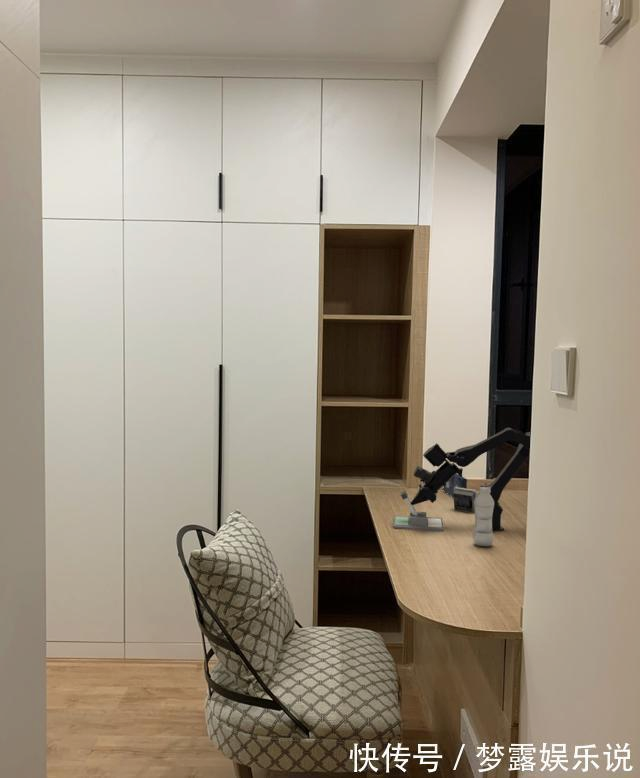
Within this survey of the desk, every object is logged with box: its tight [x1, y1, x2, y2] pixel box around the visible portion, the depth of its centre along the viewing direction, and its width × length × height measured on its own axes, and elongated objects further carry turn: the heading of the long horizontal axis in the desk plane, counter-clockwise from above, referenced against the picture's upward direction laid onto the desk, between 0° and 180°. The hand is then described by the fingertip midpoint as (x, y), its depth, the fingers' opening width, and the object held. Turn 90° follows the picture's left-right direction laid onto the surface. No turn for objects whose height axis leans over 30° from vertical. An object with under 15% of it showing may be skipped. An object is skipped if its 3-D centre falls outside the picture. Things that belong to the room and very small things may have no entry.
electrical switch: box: [452, 487, 478, 514], centre depth 248 cm, size 9×5×9 cm, turn 57°
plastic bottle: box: [472, 484, 494, 547], centre depth 206 cm, size 6×7×20 cm
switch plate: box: [392, 510, 445, 532], centre depth 230 cm, size 18×14×4 cm
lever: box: [400, 490, 420, 517], centre depth 230 cm, size 2×4×12 cm
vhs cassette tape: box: [442, 474, 468, 498], centre depth 271 cm, size 18×3×10 cm, turn 12°
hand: (411, 504), depth 230 cm, fingers closed, pressing on lever
